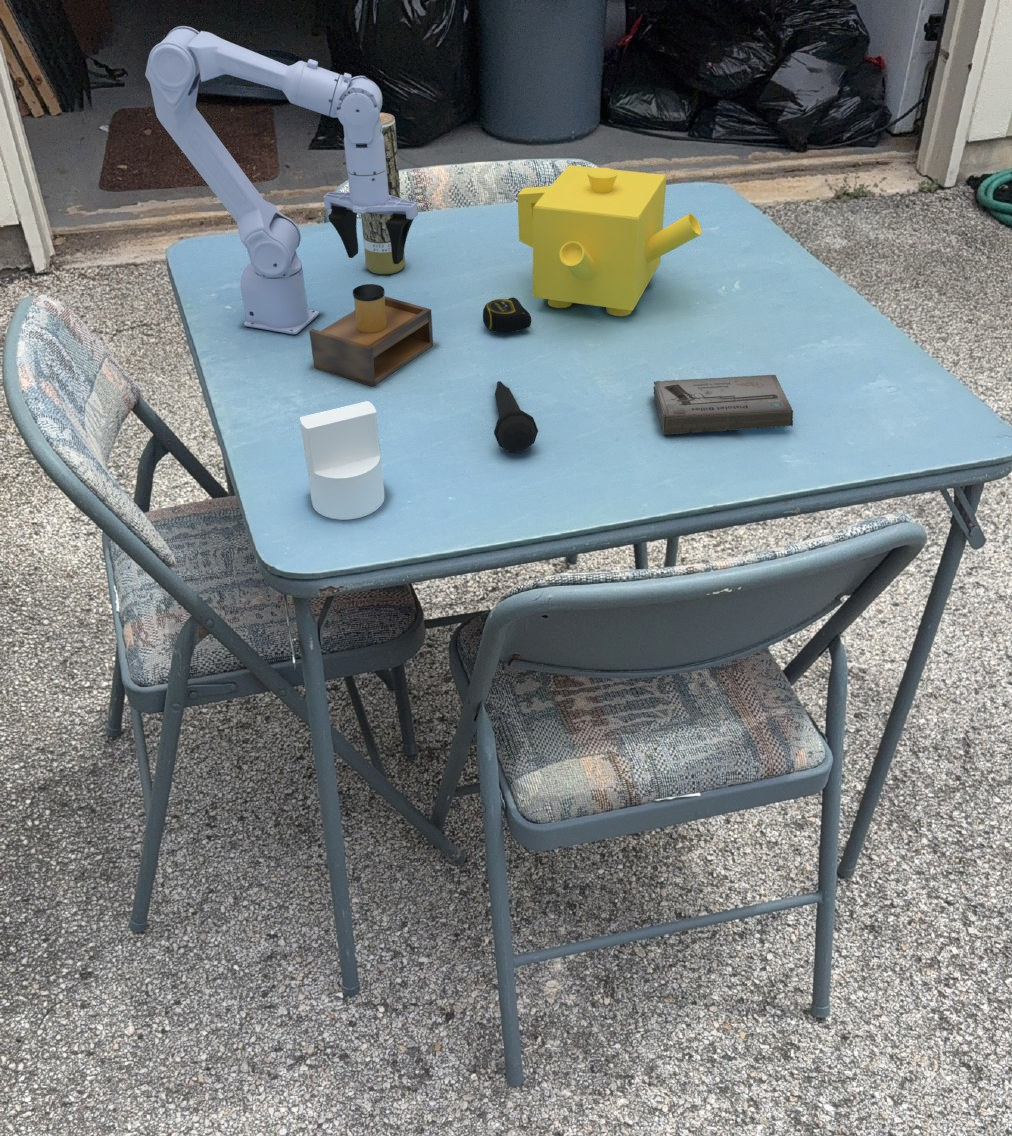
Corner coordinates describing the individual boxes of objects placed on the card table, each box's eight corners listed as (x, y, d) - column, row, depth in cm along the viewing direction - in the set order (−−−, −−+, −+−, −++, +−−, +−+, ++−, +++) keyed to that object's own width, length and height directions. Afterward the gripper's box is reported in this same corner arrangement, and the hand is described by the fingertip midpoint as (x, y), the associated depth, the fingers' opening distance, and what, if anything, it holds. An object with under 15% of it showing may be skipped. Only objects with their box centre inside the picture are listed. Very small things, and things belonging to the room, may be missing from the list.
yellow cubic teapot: (671, 355, 170) (682, 224, 157) (485, 329, 177) (482, 201, 165) (714, 264, 196) (727, 145, 183) (551, 244, 203) (552, 128, 191)
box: (792, 430, 151) (795, 409, 149) (663, 436, 151) (664, 416, 149) (775, 392, 160) (777, 372, 158) (652, 398, 160) (653, 378, 158)
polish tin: (350, 330, 166) (347, 294, 163) (364, 317, 170) (361, 282, 166) (379, 335, 165) (375, 299, 162) (392, 321, 168) (389, 286, 165)
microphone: (488, 407, 164) (506, 466, 147) (474, 372, 161) (491, 429, 144) (523, 393, 164) (546, 451, 147) (510, 358, 161) (531, 413, 144)
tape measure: (532, 334, 176) (533, 311, 173) (490, 340, 174) (490, 318, 172) (518, 315, 181) (518, 293, 178) (477, 322, 179) (477, 299, 177)
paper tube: (413, 265, 197) (403, 116, 181) (389, 279, 192) (377, 128, 177) (382, 257, 200) (369, 110, 184) (358, 270, 195) (343, 121, 180)
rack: (313, 367, 168) (309, 330, 164) (376, 328, 178) (373, 292, 174) (372, 386, 163) (368, 349, 160) (433, 345, 173) (431, 309, 169)
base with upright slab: (325, 527, 136) (313, 441, 129) (302, 489, 143) (290, 406, 135) (395, 508, 139) (387, 423, 132) (370, 471, 146) (361, 389, 138)
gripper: (309, 173, 164) (321, 262, 173) (400, 183, 160) (407, 274, 168) (332, 157, 169) (342, 245, 178) (420, 167, 165) (427, 256, 174)
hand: (375, 258), depth 173 cm, fingers open, 7 cm apart
